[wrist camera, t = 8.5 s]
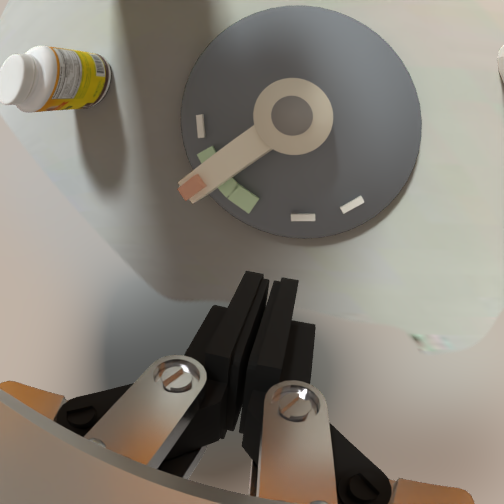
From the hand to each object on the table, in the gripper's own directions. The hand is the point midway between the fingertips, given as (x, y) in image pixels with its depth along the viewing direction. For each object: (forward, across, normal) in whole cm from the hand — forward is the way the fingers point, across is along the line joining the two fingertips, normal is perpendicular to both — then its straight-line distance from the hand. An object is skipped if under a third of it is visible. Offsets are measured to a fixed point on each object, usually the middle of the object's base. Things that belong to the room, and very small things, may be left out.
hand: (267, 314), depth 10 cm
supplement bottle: (+17, +20, -9) cm, 28 cm away
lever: (+15, +3, -4) cm, 15 cm away
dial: (+16, +1, -6) cm, 17 cm away
